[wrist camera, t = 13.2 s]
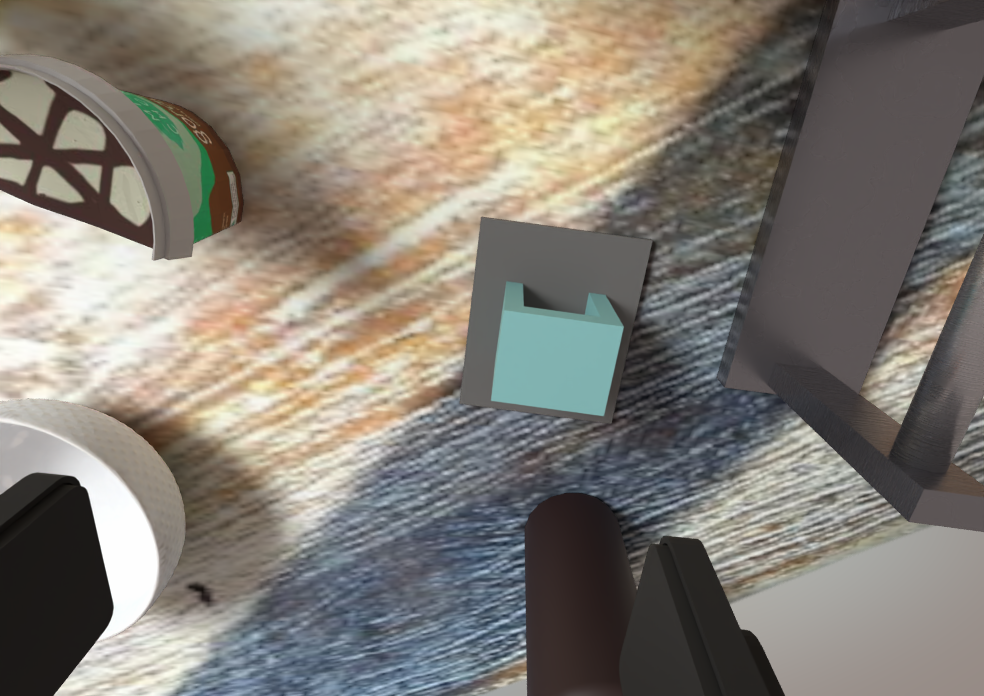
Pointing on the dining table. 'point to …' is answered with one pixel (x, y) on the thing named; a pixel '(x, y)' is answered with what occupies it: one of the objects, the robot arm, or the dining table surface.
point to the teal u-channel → (556, 355)
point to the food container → (113, 157)
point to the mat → (548, 293)
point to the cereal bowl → (104, 492)
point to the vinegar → (575, 597)
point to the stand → (869, 249)
